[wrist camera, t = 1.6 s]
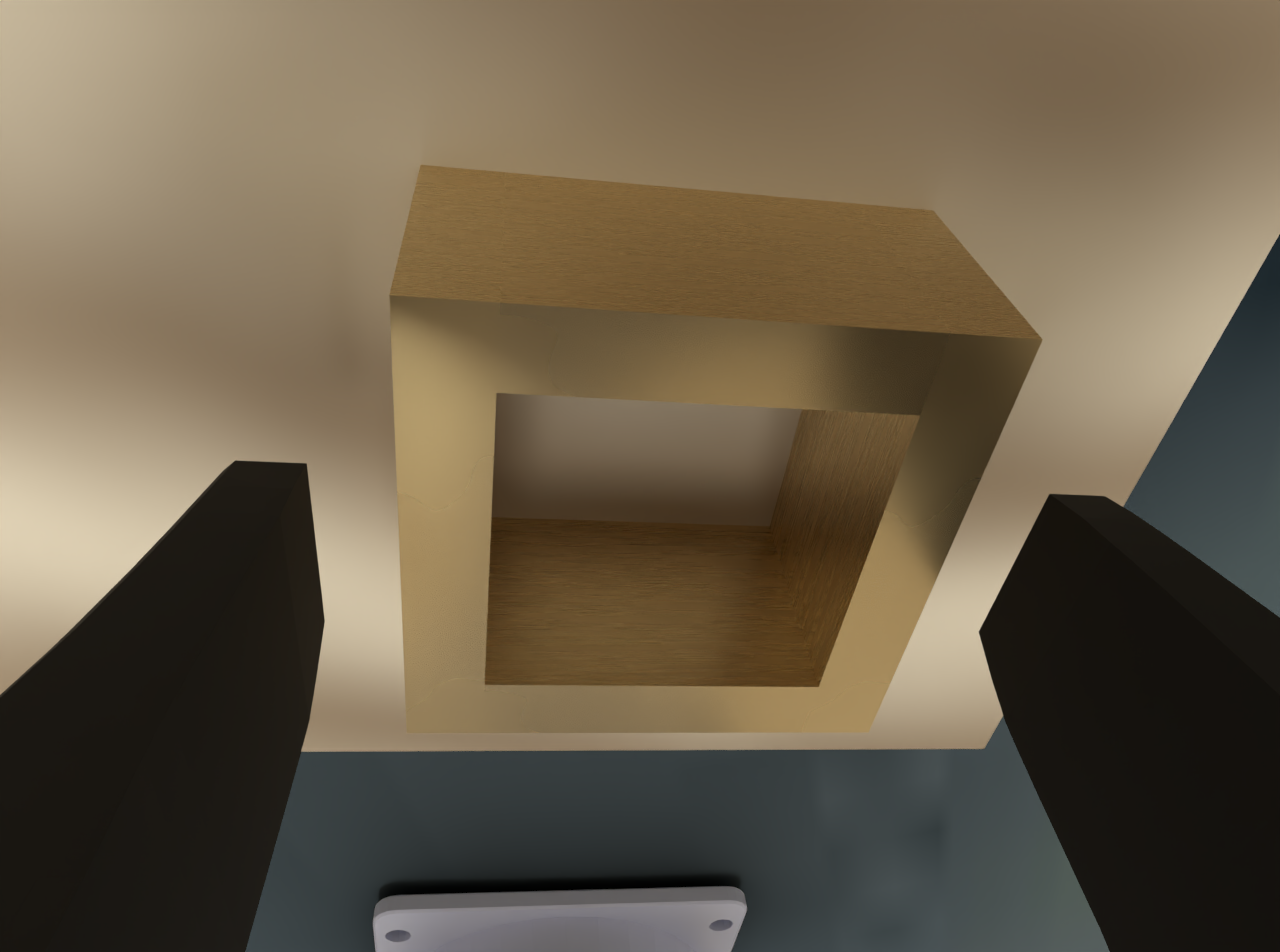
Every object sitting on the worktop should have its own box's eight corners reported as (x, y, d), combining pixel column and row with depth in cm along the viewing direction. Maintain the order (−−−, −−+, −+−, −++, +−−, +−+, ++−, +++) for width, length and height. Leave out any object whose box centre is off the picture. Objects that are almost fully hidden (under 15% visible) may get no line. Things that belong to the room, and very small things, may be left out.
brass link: (813, 572, 14) (868, 732, 11) (426, 561, 13) (406, 732, 11) (932, 209, 10) (1043, 339, 8) (420, 164, 9) (388, 295, 7)
